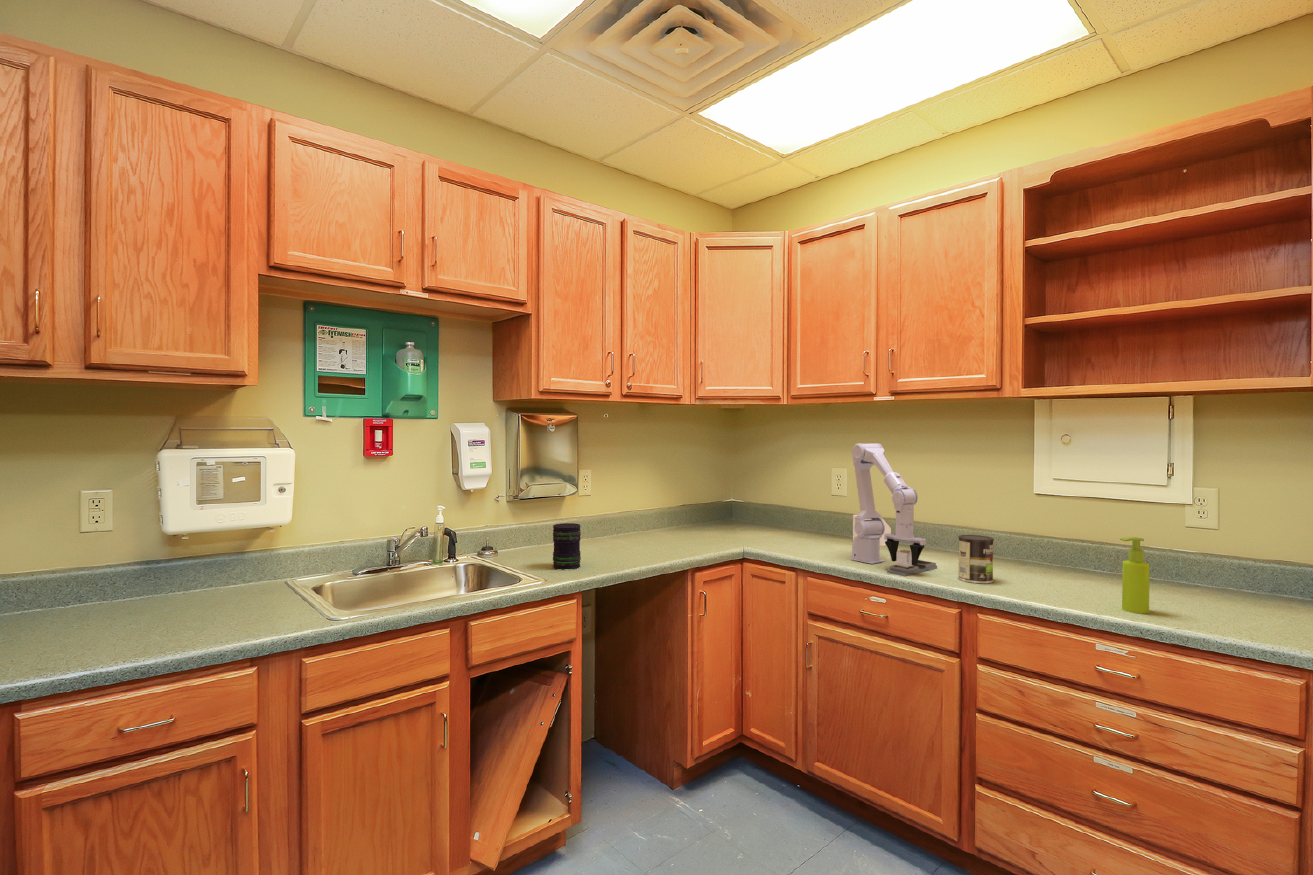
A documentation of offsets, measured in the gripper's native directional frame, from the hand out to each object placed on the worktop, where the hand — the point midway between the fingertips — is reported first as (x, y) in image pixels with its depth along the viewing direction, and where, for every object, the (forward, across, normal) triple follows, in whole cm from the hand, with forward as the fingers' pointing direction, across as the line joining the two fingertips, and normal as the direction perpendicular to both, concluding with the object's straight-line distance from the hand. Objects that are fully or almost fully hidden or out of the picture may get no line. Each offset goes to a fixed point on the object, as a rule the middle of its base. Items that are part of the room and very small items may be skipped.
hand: (904, 562), depth 216 cm
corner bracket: (+3, +39, -38) cm, 55 cm away
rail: (+3, 0, -5) cm, 6 cm away
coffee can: (+3, -20, -9) cm, 22 cm away
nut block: (+2, 0, 0) cm, 2 cm away
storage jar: (+3, +76, +90) cm, 118 cm away
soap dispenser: (+3, -63, -9) cm, 64 cm away
